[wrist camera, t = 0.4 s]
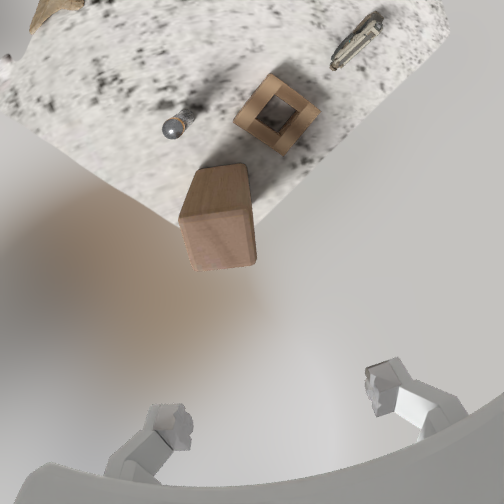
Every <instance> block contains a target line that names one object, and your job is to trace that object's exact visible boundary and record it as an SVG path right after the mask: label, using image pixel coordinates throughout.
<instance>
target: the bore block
mask: <svg viewBox="0 0 504 504" xmlns="http://www.w3.org/2000/svg"><path fill="white" fill-rule="evenodd" d="M274 94H275V95H276V96H277V97H279V98H280V99H282V100H283V101H284V102H286V103H287V104H288V105H290V106H291V107H293V108H294V109H295V110H296V111H295V112H294V114H293V115H292V116H291V117H290V118H289V120H288V121H287V122H286V123H285V125H284V126H283V127H282V128H281V129H280V131H279V132H276V131H275V130H273V129H272V128H271V127H269V126H268V125H266V124H265V123H263V122H262V121H261V120H259V119H258V118H256V117H257V115H258V114H259V113H260V111H261V110H262V109H263V108H264V106H265V105H266V104H267V103H268V101H269V100H270V99H271V98H272V96H273V95H274ZM320 112H321V111H320V110H319V109H318V108H316V107H315V106H314V105H313V104H312V103H310V102H309V101H308V100H306V99H305V98H304V97H303V96H301V95H300V94H299V93H297V92H296V91H295V90H293V89H292V88H291V87H289V86H288V85H287V84H285V83H284V82H283V81H281V80H280V79H278V78H277V77H275V76H274V75H273V74H268V75H267V77H266V78H265V79H264V80H263V82H262V83H261V84H260V85H259V87H258V88H257V89H256V90H255V92H254V93H253V94H252V95H251V97H250V98H249V99H248V101H247V102H246V103H245V105H244V106H243V107H242V109H241V110H240V111H239V113H238V114H237V115H236V117H235V118H234V120H233V123H235V124H236V125H238V126H239V127H241V128H242V129H244V130H246V131H247V132H249V133H250V134H252V135H253V136H255V137H256V138H258V139H259V140H260V141H262V142H263V143H265V144H266V145H268V146H269V147H271V148H272V149H273V150H275V151H276V152H278V153H279V154H281V155H282V156H283V157H284V155H285V154H286V153H287V152H288V150H289V149H290V148H291V147H292V146H293V144H294V143H295V142H296V141H297V140H298V138H299V137H300V136H301V135H302V134H303V132H304V131H305V130H306V129H307V128H308V126H309V125H310V124H311V123H312V122H313V120H314V119H315V118H316V117H317V116H318V115H319V113H320Z"/></svg>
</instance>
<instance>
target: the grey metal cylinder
mask: <svg viewBox="0 0 504 504" xmlns="http://www.w3.org/2000/svg"><path fill="white" fill-rule="evenodd" d="M193 121H194V115H193V113H192V112H191V111H189V110H183V111H181V112H179V113H178V114H176V115H175V116H173V117H172V118H170V119H168V120H167V121H166V122H165V123H164V124H163V127H162V132H163V134H164V136H165V137H167V138H168V139H177V138H179V137H180V136H181V135H182V134H183V132H184V131H185V130H186V129H187V128H188V127H189V126H190V125H191V124H192V123H193Z"/></svg>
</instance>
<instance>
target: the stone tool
mask: <svg viewBox="0 0 504 504" xmlns="http://www.w3.org/2000/svg"><path fill="white" fill-rule="evenodd" d="M83 6H84V0H40V1H39V3H38V7H37V9H36V13H35V15H34V17H33V20H32V23H31V25H30V30H29V32H30V33H31V35H32V34H34V33H35V32H36V30H37V29H38V28H39V27H40V26H41V25H42V23H43V22H44V21H45V20H46V19H47V18H49V17H50V15H52V14H53V13H55V12H57V11H58V10H61V9H67V10H78V9H80V8H82V7H83Z"/></svg>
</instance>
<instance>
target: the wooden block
mask: <svg viewBox="0 0 504 504" xmlns="http://www.w3.org/2000/svg"><path fill="white" fill-rule="evenodd" d="M178 222H179V225H180V229H181V232H182V236H183V239H184V242H185V246H186V249H187V252H188V256H189V259H190V262H191V265H192V268H193V269H194V271H197V272H201V271H208V270H218V269H226V268H235V267H244V266H251V265H253V264H255V262H256V259H257V253H256V243H255V232H254V222H253V212H252V203H251V195H250V188H249V180H248V173H247V167H246V165H245V164H242V163H239V164H232V165H225V166H218V167H211V168H205V169H199V170H198V171H196V173H195V175H194V178H193V180H192V183H191V185H190V188H189V190H188V193H187V196H186V198H185V201H184V204H183V206H182V209H181V212H180V214H179V219H178Z"/></svg>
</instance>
